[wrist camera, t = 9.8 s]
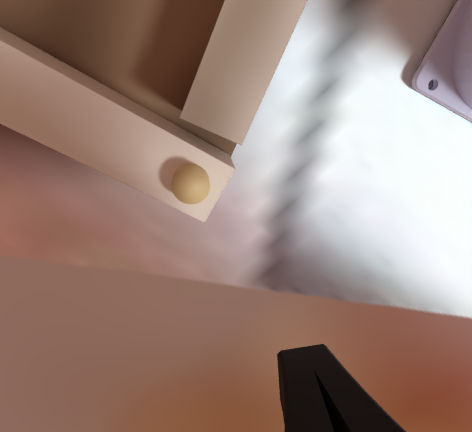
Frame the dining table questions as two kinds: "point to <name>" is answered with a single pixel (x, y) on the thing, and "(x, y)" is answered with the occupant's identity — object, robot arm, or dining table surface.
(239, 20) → the stool seat
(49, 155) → the dining table surface
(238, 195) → the dining table surface
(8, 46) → the hinged leg
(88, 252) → the dining table surface
